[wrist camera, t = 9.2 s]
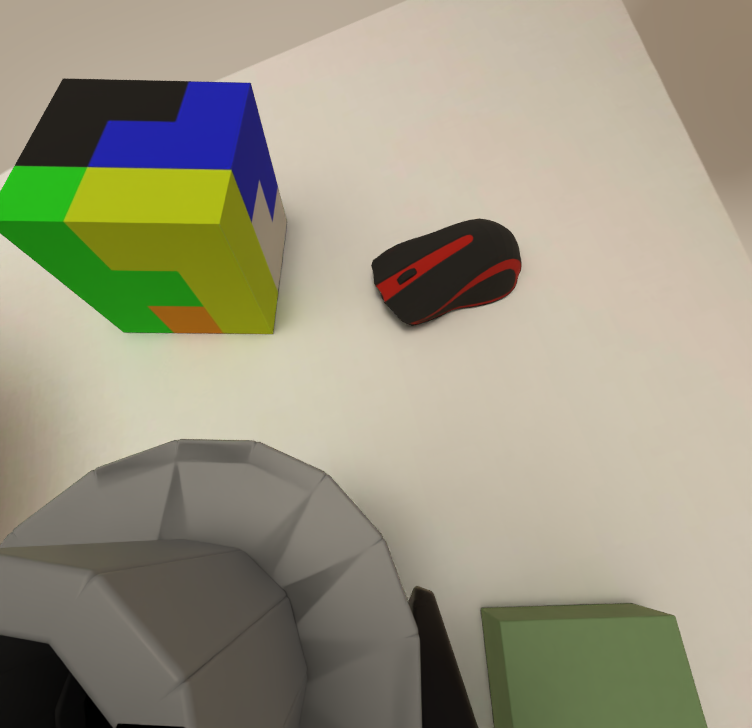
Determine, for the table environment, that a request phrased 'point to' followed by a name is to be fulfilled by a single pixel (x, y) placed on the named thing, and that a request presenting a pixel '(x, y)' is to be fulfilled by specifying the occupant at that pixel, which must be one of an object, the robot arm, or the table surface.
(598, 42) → the table surface
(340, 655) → the flask
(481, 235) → the computer mouse
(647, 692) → the green block
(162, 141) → the puzzle toy
